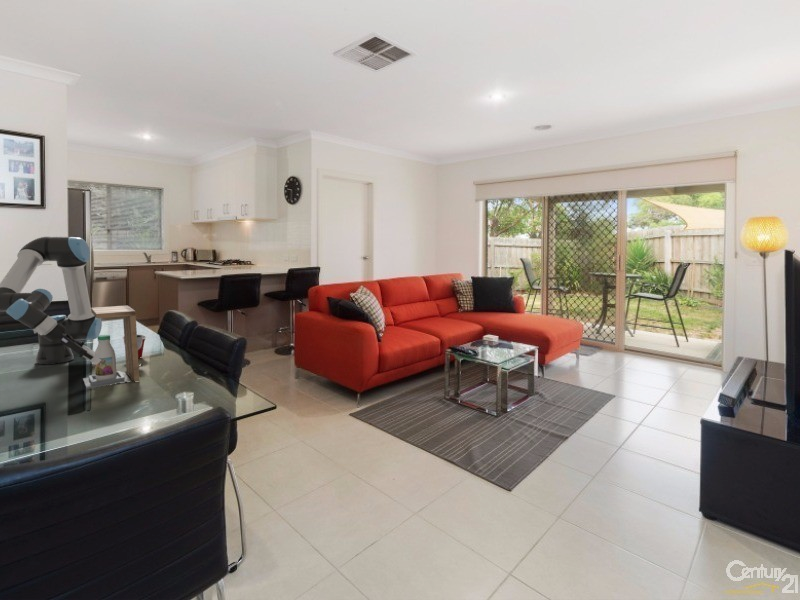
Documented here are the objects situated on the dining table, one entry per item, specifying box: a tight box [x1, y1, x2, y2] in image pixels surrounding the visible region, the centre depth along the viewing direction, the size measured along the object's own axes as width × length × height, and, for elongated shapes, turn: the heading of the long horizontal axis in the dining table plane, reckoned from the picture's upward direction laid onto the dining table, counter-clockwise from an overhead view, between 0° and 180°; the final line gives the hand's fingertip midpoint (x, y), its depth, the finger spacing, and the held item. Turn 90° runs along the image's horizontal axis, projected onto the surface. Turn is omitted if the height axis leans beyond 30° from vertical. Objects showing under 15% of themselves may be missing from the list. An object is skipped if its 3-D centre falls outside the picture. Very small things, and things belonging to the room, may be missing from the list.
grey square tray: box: [82, 370, 132, 390], centre depth 193 cm, size 16×16×2 cm
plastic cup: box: [122, 334, 147, 359], centre depth 229 cm, size 11×11×12 cm
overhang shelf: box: [91, 305, 140, 382], centre depth 193 cm, size 20×14×32 cm
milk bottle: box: [94, 334, 117, 381], centre depth 191 cm, size 8×8×20 cm
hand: (96, 359), depth 189 cm, fingers open, 13 cm apart
